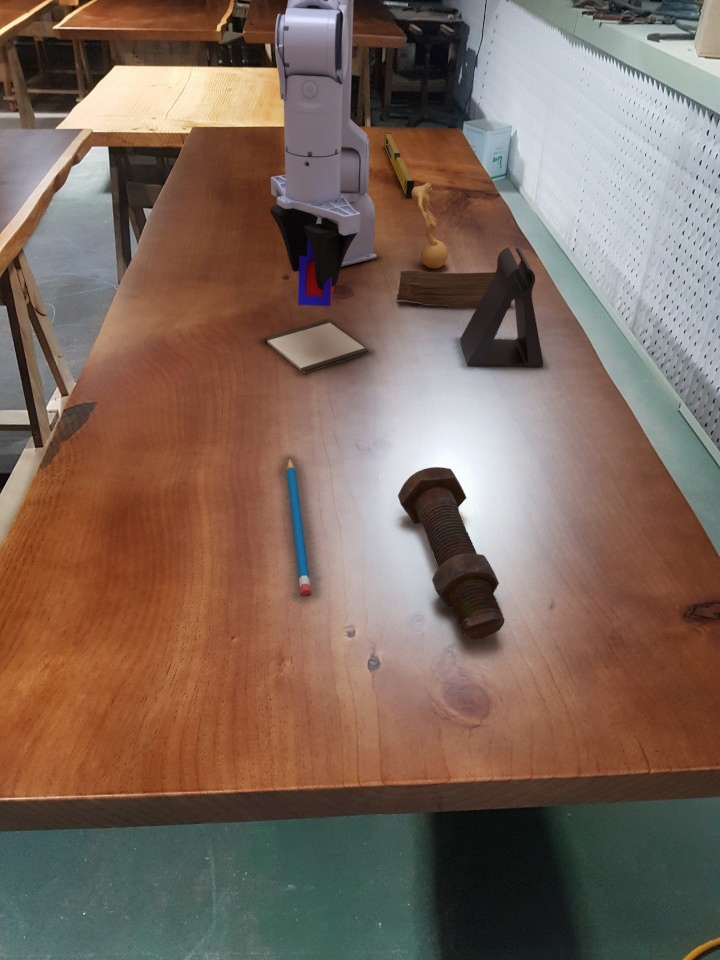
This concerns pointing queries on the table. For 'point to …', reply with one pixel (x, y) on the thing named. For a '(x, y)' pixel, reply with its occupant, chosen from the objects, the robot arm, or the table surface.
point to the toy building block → (312, 283)
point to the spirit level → (399, 165)
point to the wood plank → (444, 288)
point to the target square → (315, 346)
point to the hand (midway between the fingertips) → (313, 277)
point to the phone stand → (490, 314)
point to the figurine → (429, 229)
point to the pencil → (298, 531)
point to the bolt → (453, 551)
